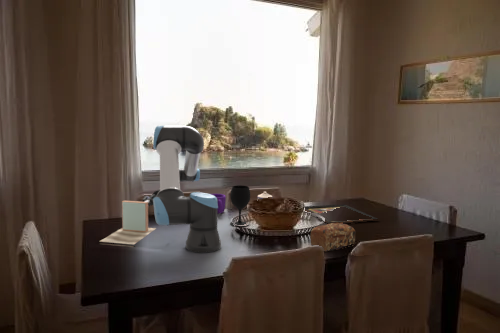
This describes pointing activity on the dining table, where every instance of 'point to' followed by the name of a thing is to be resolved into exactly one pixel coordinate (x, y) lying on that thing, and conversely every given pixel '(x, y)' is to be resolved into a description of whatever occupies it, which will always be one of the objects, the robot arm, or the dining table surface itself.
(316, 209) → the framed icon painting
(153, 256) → the dining table surface
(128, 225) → the tile
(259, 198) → the teacup with lid
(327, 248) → the bread
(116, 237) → the board
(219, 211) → the mug
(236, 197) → the wine glass
